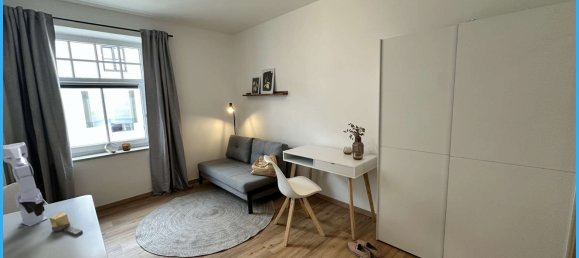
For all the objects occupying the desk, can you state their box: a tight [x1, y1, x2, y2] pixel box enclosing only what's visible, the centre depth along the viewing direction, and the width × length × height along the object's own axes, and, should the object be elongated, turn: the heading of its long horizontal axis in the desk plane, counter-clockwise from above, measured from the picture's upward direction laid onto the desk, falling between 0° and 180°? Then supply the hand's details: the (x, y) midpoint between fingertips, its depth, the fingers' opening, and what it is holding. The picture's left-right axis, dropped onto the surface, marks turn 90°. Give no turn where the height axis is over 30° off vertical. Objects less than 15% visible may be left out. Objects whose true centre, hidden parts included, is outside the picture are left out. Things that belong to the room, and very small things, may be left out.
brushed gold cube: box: [49, 212, 70, 229], centre depth 132 cm, size 5×5×5 cm
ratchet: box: [51, 221, 84, 237], centre depth 130 cm, size 19×7×4 cm, turn 67°
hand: (35, 213), depth 129 cm, fingers open, 7 cm apart
